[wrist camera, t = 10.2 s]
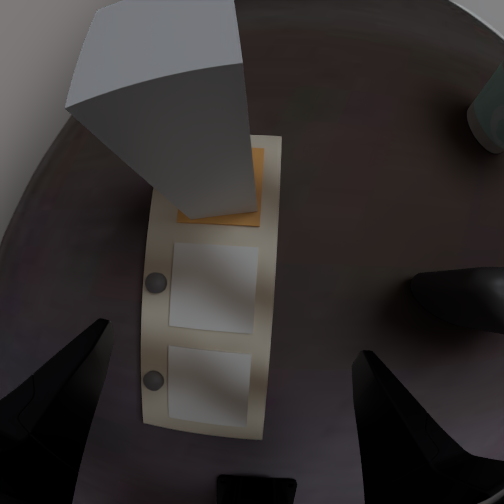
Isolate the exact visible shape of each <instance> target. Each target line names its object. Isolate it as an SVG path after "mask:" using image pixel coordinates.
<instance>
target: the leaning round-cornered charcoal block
mask: <svg viewBox="0 0 504 504" xmlns="http://www.w3.org/2000/svg"><path fill="white" fill-rule="evenodd" d="M411 291H412V293H413V295H414V297H415V298H416V300H417V301H418V302H419V303H420V304H421V305H422V306H423V307H424V308H425V309H426V310H428V311H429V312H430V313H432V314H433V315H435V316H436V317H438V318H440V319H442V320H444V321H446V322H449V323H451V324H454V325H458V326H462V327H467V328H473V329H478V330H483V331H489V332H494V333H500V334H504V267H481V268H468V269H458V270H448V271H437V272H425V273H419V274H417V275H415V276H414V277H413V279H412V281H411Z"/></svg>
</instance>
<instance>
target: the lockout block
mask: <svg viewBox="0 0 504 504" xmlns="http://www.w3.org/2000/svg"><path fill="white" fill-rule="evenodd" d="M65 109H66V110H67V111H68V112H70V113H71V114H72V115H73V116H74V117H75V118H76V119H77V120H78V121H79V122H80V123H82V124H83V125H84V126H85V127H86V128H87V129H88V130H89V131H90V132H92V133H93V134H94V135H95V136H96V137H97V138H98V139H99V140H101V141H102V142H103V143H104V144H105V145H106V146H107V147H108V148H109V149H111V150H112V151H113V152H114V153H115V154H116V155H117V156H118V157H120V158H121V159H122V160H123V161H124V162H125V163H126V164H128V165H129V166H130V167H131V168H132V169H133V170H134V171H135V172H137V173H138V174H139V175H140V176H141V177H142V178H143V179H145V180H146V181H147V182H148V183H149V184H150V185H151V186H153V187H154V188H155V189H156V190H157V191H158V192H159V193H161V194H162V195H163V196H164V197H165V198H166V199H167V200H169V201H170V202H171V203H172V204H173V205H174V206H176V207H177V208H178V209H179V210H180V211H181V212H182V213H184V214H185V215H186V216H187V217H188V218H189V219H199V218H207V217H214V216H222V215H231V214H239V213H248V212H256V211H258V210H257V200H256V189H255V179H254V168H253V158H252V148H251V138H250V128H249V118H248V108H247V98H246V89H245V79H244V70H243V61H242V54H241V46H240V39H239V32H238V25H237V19H236V12H235V5H234V0H123V1H120V2H117V3H114V4H112V5H109V6H107V7H104V8H101V9H99V10H97V12H96V14H95V16H94V19H93V21H92V23H91V26H90V28H89V31H88V33H87V36H86V39H85V41H84V44H83V47H82V50H81V53H80V56H79V59H78V62H77V65H76V68H75V71H74V75H73V78H72V82H71V85H70V89H69V93H68V97H67V101H66V105H65Z"/></svg>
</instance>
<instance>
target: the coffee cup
mask: <svg viewBox="0 0 504 504" xmlns="http://www.w3.org/2000/svg"><path fill="white" fill-rule="evenodd" d="M467 120H468V124H469V127H470V129H471V131H472V133H473V135H474V136H475V138H476V139H477V141H478V142H479V143H480V144H481V145H482V146H483V147H484V148H485V149H486V150H488V151H489V152H491V153H494V154H499V153H501V152H504V60H503V61H502V63H501V64H500V65H499V67H498V68H497V70H496V71H495V73H494V74H493V75H492V77H491V78H490V80H489V81H488V82H487V84H486V85H485V87H484V88H483V89H482V91H481V92H480V93H479V95H478V96H477V97H476V99H475V100H474V101H473V103H472V104H471V105H470V107H469V108H468V110H467Z"/></svg>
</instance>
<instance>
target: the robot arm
mask: <svg viewBox="0 0 504 504" xmlns="http://www.w3.org/2000/svg"><path fill="white" fill-rule="evenodd" d="M113 343H114V333H113V329H112V324H111V322H110V321H109V320H106V319H101V318H100V319H98V320H97V321H95V322H94V323H93V324H92V325H90V326H89V327H88V328H87V329H86V330H84V331H83V332H82V333H81V334H80V335H78V336H77V337H76V338H75V339H74V340H72V341H71V342H70V343H69V344H68V345H66V346H65V347H64V348H63V349H62V350H60V351H59V352H58V353H57V354H56V355H55V356H53V357H52V358H51V359H50V360H49V361H47V362H46V363H45V364H44V365H43V366H42V367H41V368H39V369H38V370H37V371H36V372H35V373H34V374H33V375H31V376H30V377H29V378H28V379H27V380H26V381H24V382H23V383H22V384H21V385H20V386H18V387H17V388H16V389H15V390H13V391H12V392H11V393H9V394H8V395H7V396H5V397H4V398H2V399H1V400H0V504H72V501H73V496H74V491H75V486H76V482H77V477H78V472H79V468H80V464H81V460H82V456H83V452H84V448H85V444H86V440H87V437H88V433H89V430H90V426H91V423H92V419H93V416H94V413H95V409H96V406H97V403H98V400H99V397H100V394H101V391H102V388H103V385H104V381H105V378H106V374H107V369H108V365H109V360H110V356H111V352H112V347H113ZM352 382H353V401H354V410H355V417H356V424H357V431H358V439H359V447H360V455H361V464H362V474H363V484H364V494H365V495H364V498H365V504H504V461H500V460H494V459H488V458H483V457H478V456H474V455H472V454H470V453H468V452H466V451H465V450H464V449H463V448H462V447H461V446H460V445H459V444H458V443H456V442H455V441H454V440H453V439H452V438H451V437H450V436H449V435H448V434H447V433H446V432H445V431H444V430H443V429H442V428H441V427H440V426H439V425H438V424H437V423H436V422H435V421H434V419H433V418H432V417H431V416H430V415H429V414H428V413H427V412H426V410H425V409H424V408H423V407H422V406H421V405H420V404H419V402H418V401H417V400H416V399H415V398H414V397H413V396H412V395H411V393H410V392H409V391H408V390H407V389H406V388H405V387H404V386H403V384H402V383H401V382H400V381H399V380H398V379H397V378H396V377H395V375H394V374H393V373H392V372H391V371H390V370H389V369H388V368H387V367H386V365H385V364H384V363H383V362H382V361H381V360H380V359H379V358H378V357H377V356H376V354H375V353H374V352H373V351H370V350H363V351H361V352H360V353H359V355H358V356H357V358H356V359H355V361H354V362H353V365H352ZM222 480H226V481H222ZM290 483H292V485H289V484H290ZM296 488H297V482H296V480H295V479H274V478H252V477H239V476H228V475H220V476H219V477H218V480H217V504H293V502H294V497H295V492H296Z"/></svg>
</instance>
